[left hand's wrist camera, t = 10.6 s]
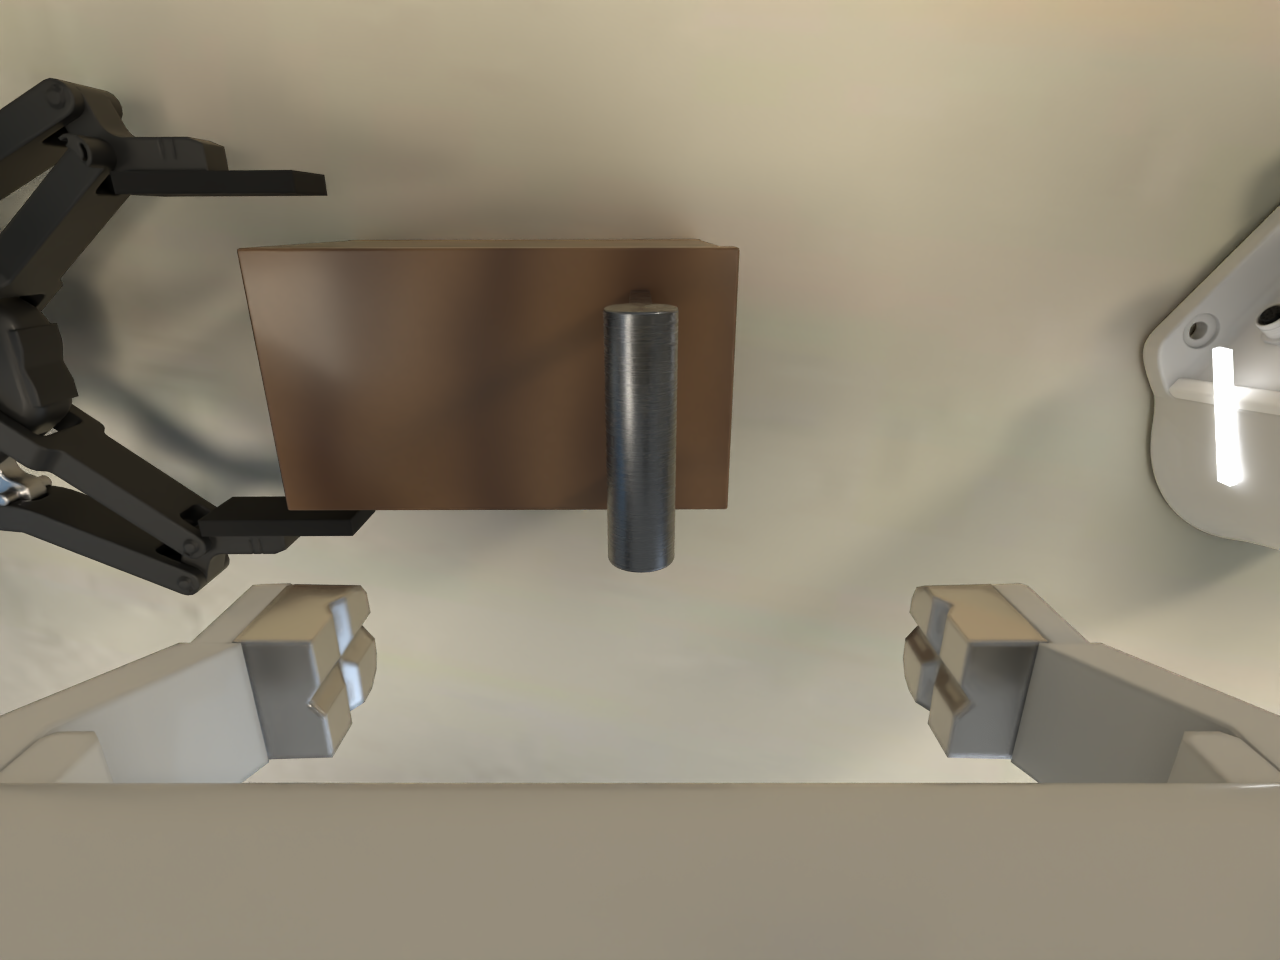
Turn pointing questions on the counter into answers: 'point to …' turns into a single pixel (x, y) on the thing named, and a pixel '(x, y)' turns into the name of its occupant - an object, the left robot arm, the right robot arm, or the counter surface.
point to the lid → (502, 380)
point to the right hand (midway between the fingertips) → (340, 363)
